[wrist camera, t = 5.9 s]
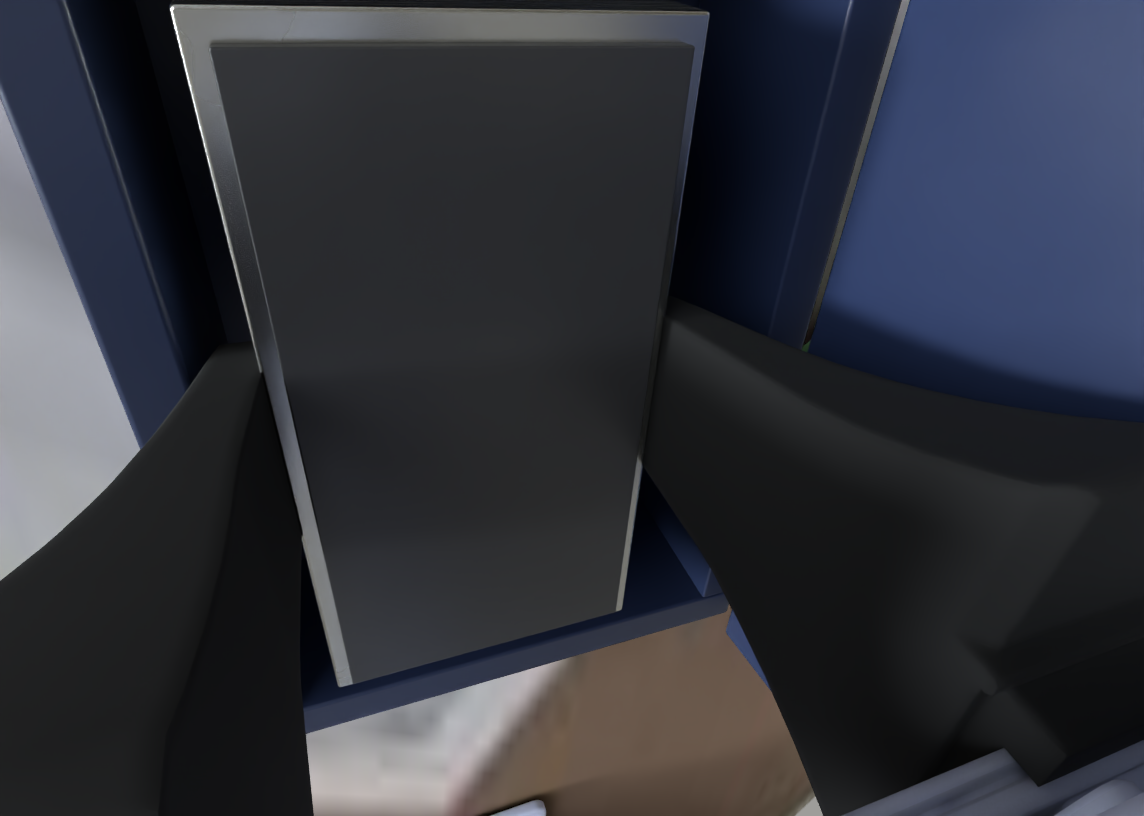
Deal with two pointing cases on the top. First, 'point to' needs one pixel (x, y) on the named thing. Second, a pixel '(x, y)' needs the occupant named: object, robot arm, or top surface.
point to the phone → (452, 291)
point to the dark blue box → (213, 302)
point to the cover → (1000, 214)
